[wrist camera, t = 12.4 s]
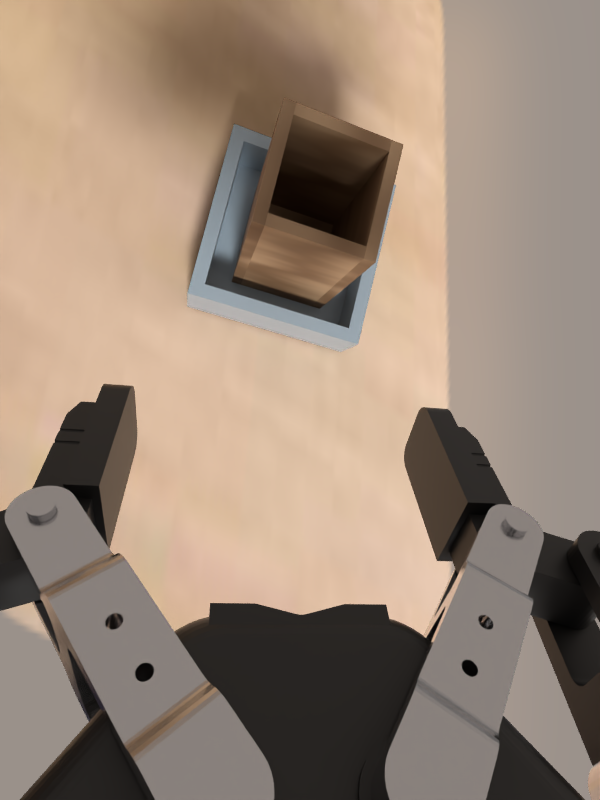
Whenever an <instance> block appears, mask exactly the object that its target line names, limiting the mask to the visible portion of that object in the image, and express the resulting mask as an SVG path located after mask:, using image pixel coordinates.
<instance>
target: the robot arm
mask: <svg viewBox="0 0 600 800" xmlns="http://www.w3.org/2000/svg"><path fill="white" fill-rule="evenodd" d="M136 443H137V420H136V405H135V391H134V387H133V386H125V385H111V384H104V385H103V386H102V388H101V391H100V393H99V396H98V398H97V401H96V403H94V402H80V403H79V404H78V405H77V406H75V407H74V408H73V409H72V410H71V411H70V412H68V413H67V415H66V417H65V419H64V421H63V423H62V426H61V428H60V431H59V432H58V434H57V436H56V439H55V443H53V445H52V447H51V449H50V452H49V454H48V456H47V458H46V460H45V463H44V465H43V467H42V469H41V471H40V473H39V476H38V478H37V480H36V482H35V484H34V486H33V488H32V489H30V490H28V491H26V492H24V493H22V494H21V495H19V496H18V497H17V498H15V499H14V500H13V501H12V502H11V503H10V505H9V506H8V508H7V509H6V510H3V511H1V512H0V611H1V610H5V609H9V608H12V607H16V606H19V605H23V604H27V603H30V602H32V603H33V605H34V607H35V609H36V611H37V613H38V615H39V617H40V619H41V621H42V623H43V625H44V627H45V629H46V631H47V633H48V635H49V637H50V639H51V641H52V644H53V646H54V648H55V650H56V652H57V654H58V656H59V658H60V660H61V662H62V664H63V666H64V669H65V671H66V673H67V676H68V679H69V681H70V683H71V686H72V688H73V690H74V692H75V695H76V697H77V699H78V701H79V703H80V705H81V707H82V709H83V711H84V713H85V715H86V717H87V719H88V721H89V723H88V724H87V725H86V726H85V727H84V728H83V729H82V731H81V732H80V733H79V734H78V735H77V736H76V737H75V738H74V739H73V741H72V742H71V743H70V744H69V745H68V746H67V747H66V748H65V750H64V751H63V752H62V753H61V754H60V755H59V756H58V757H57V758H56V760H55V761H54V762H53V763H52V764H51V765H50V766H49V767H48V769H47V770H46V771H45V772H44V773H43V774H42V775H41V776H40V778H39V779H38V780H37V781H36V782H35V783H34V784H33V785H32V787H31V788H30V789H29V790H28V791H27V792H26V793H25V794H24V795H23V797H22V798H21V799H20V800H585V799H584V798H583V797H582V796H581V795H580V794H579V793H578V792H577V791H576V790H575V789H574V788H573V787H572V786H571V785H570V784H569V783H568V782H567V781H566V780H565V779H564V778H563V777H562V776H561V775H560V774H559V773H558V772H557V771H556V770H555V769H554V768H553V766H552V765H550V763H549V762H548V761H546V759H545V758H544V757H543V756H542V755H541V754H540V753H539V752H538V751H537V750H536V749H535V748H534V747H533V746H532V745H531V744H530V743H529V742H528V741H527V740H526V739H525V738H524V737H523V736H522V735H521V734H520V733H519V732H518V731H517V730H516V728H515V727H514V726H513V725H512V724H511V723H510V722H509V721H508V720H507V719H506V718H505V717H504V716H503V713H504V710H505V706H506V702H507V698H508V695H509V691H510V687H511V684H512V680H513V676H514V673H515V669H516V665H517V662H518V657H519V654H520V651H521V647H522V643H523V639H524V636H525V632H526V628H527V625H528V621H529V617H530V615H532V617H533V619H534V622H535V624H536V627H537V629H538V632H539V634H540V636H541V639H542V642H543V644H544V647H545V649H546V651H547V654H548V656H549V659H550V661H551V664H552V666H553V669H554V671H555V674H556V676H557V679H558V681H559V684H560V686H561V689H562V691H563V693H564V696H565V698H566V701H567V703H568V706H569V708H570V710H571V713H572V716H573V718H574V720H575V723H576V726H577V728H578V730H579V733H580V735H581V738H582V740H583V743H584V745H585V748H586V750H587V753H588V755H589V758H590V760H591V763H592V765H593V767H592V769H591V771H590V773H589V778H588V787H589V793H590V797H591V800H600V629H599V627H598V625H597V623H596V622H595V618H596V617H597V618H598V620H599V622H600V532H597V531H585V532H583V533H581V534H580V535H579V537H578V538H577V539H576V541H575V542H574V541H571V540H567V539H564V538H560V537H558V536H554V535H551V534H548V533H545V532H543V531H542V529H541V527H540V525H539V524H538V522H537V521H536V520H535V519H534V518H533V517H532V516H531V515H530V514H528V513H526V512H525V511H523V510H522V509H520V508H518V507H515V506H512V505H511V503H510V501H509V499H508V497H507V495H506V493H505V491H504V489H503V487H502V486H501V484H500V482H499V480H498V478H497V476H496V474H495V472H494V470H493V468H492V467H490V463H489V461H488V459H487V457H486V456H484V454H485V453H484V452H483V450H482V448H481V446H480V444H479V442H478V440H477V439H476V438H475V437H474V436H473V435H472V434H471V433H470V432H469V431H468V430H467V429H466V428H464V427H458V426H457V424H456V422H455V420H454V418H453V416H452V414H451V412H450V411H449V410H448V409H439V408H425V407H423V408H421V409H420V410H419V412H418V415H417V417H416V420H415V423H414V425H413V428H412V431H411V433H410V436H409V439H408V441H407V444H406V447H405V453H404V462H405V467H406V470H407V473H408V476H409V479H410V482H411V485H412V488H413V491H414V494H415V497H416V500H417V503H418V506H419V509H420V512H421V515H422V518H423V521H424V524H425V527H426V530H427V533H428V536H429V538H430V541H431V544H432V547H433V550H434V553H435V556H436V559H437V561H453V563H454V566H455V570H454V572H453V573H452V575H451V577H450V580H449V582H448V584H447V586H446V588H445V591H444V593H443V595H442V597H441V599H440V602H439V604H438V606H437V608H436V610H435V612H434V615H433V617H432V619H431V621H430V623H429V626H428V628H427V630H426V632H425V634H424V635H421V634H420V633H418V632H417V631H415V630H414V629H412V628H410V627H408V626H407V625H405V624H402V623H400V622H397V621H395V620H392V619H389V616H388V611H387V607H386V605H365V604H344V605H340V606H336V607H332V608H329V609H325V610H321V611H317V612H313V613H309V614H305V615H298V614H293V613H290V612H286V611H282V610H278V609H274V608H270V607H266V606H262V605H259V604H239V603H210V615H209V617H207V618H203V619H199V620H197V621H194V622H192V623H189V624H187V625H185V626H183V627H181V628H179V629H178V630H176V631H175V632H174V631H173V629H172V628H171V626H170V625H169V623H168V622H167V620H166V619H165V617H164V616H163V614H162V613H161V611H160V610H159V608H158V607H157V605H156V604H155V602H154V601H153V599H152V598H151V596H150V595H149V593H148V592H147V590H146V589H145V587H144V586H143V584H142V583H141V581H140V580H139V578H138V577H137V575H136V574H135V572H134V571H133V569H132V568H131V566H130V565H129V563H128V562H127V561H126V559H125V558H124V557H123V556H122V555H121V554H119V553H118V554H116V555H114V554H113V553H112V552H111V551H110V549H109V548H110V545H111V541H112V537H113V533H114V530H115V526H116V522H117V518H118V514H119V511H120V507H121V503H122V499H123V496H124V492H125V488H126V484H127V481H128V477H129V473H130V469H131V465H132V462H133V458H134V454H135V450H136Z"/></svg>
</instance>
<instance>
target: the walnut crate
mask: <svg viewBox="0 0 600 800" xmlns="http://www.w3.org/2000/svg"><path fill="white" fill-rule="evenodd" d="M402 148H403V144H401V143H398V142H395V141H393V140H390V139H388V138H385V137H383V136H380V135H378V134H375V133H373V132H370V131H368V130H365V129H363V128H360V127H358V126H355V125H352V124H350V123H347V122H345V121H342V120H340V119H337V118H335V117H332V116H330V115H327V114H325V113H322V112H320V111H317V110H315V109H312V108H309V107H307V106H304V105H302V104H299V103H297V102H294V101H292V100H289V99H287V98H284V100H283V103H282V106H281V110H280V113H279V116H278V119H277V123H276V126H275V129H274V132H273V136H272V139H271V142H270V146H269V149H268V152H267V155H266V159H265V162H264V165H263V168H262V172H261V175H260V178H259V182H258V185H257V188H256V191H255V195H254V198H253V202H252V206H251V210H250V214H249V217H248V221H247V225H246V229H245V233H244V237H243V240H242V244H241V248H240V252H239V256H238V259H237V263H236V267H235V271H234V275H233V278H232V282H234V283H237V284H240V285H244V286H247V287H250V288H253V289H257V290H260V291H263V292H266V293H270V294H273V295H276V296H279V297H283V298H286V299H289V300H292V301H296V302H299V303H302V304H305V305H309V306H312V307H315V308H318V309H320V308H321V307H322V306H324V305H325V304H326V303H327V302H329V301H330V300H331V299H332V298H333V297H335V296H336V295H337V294H338V293H339V292H341V291H342V290H343V289H344V288H345V287H347V286H348V285H349V284H350V283H352V282H353V281H354V280H355V279H356V278H358V277H359V276H360V275H361V274H362V273H364V272H365V271H366V270H367V269H368V268H370V267H371V266H372V265H373V264H375V263H376V259H377V255H378V250H379V246H380V242H381V238H382V233H383V229H384V225H385V221H386V216H387V212H388V208H389V204H390V199H391V195H392V191H393V187H394V182H395V178H396V174H397V170H398V165H399V161H400V157H401V153H402Z"/></svg>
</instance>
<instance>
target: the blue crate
mask: <svg viewBox="0 0 600 800" xmlns="http://www.w3.org/2000/svg"><path fill="white" fill-rule="evenodd" d="M271 139H272V138H271V137H268V136H265V135H263V134H260V133H257V132H255V131H252V130H249V129H247V128H244V127H242V126H239V125H236V124H234V126H233V129H232V133H231V137H230V140H229V144H228V147H227V151H226V155H225V158H224V162H223V166H222V169H221V173H220V177H219V180H218V184H217V188H216V191H215V195H214V198H213V202H212V206H211V209H210V213H209V217H208V220H207V224H206V228H205V231H204V235H203V238H202V242H201V246H200V249H199V253H198V257H197V260H196V264H195V268H194V271H193V275H192V278H191V282H190V286H189V289H188V293H187V307H190V308H194V309H197V310H201V311H204V312H207V313H211V314H214V315H218V316H221V317H224V318H228V319H231V320H234V321H238V322H241V323H245V324H248V325H251V326H255V327H258V328H262V329H265V330H268V331H272V332H275V333H279V334H282V335H285V336H289V337H292V338H296V339H299V340H302V341H306V342H309V343H312V344H316V345H319V346H323V347H326V348H329V349H333V350H336V351H340V352H342V351H344V350H346V349H348V348H351V347H353V346H355V345H358V342H359V338H360V334H361V330H362V325H363V321H364V317H365V313H366V309H367V304H368V300H369V296H370V292H371V288H372V283H373V279H374V275H375V271H376V267H377V262H378V258H379V254H380V250H381V246H382V242H383V237H384V233H385V229H386V225H387V221H388V216H389V212H390V208H391V204H392V200H393V195H394V191H395V187H396V185H394V187H393V191H392V195H391V199H390V204H389V208H388V212H387V216H386V221H385V225H384V229H383V233H382V238H381V242H380V246H379V250H378V255H377V259H376V263H375V264H373V265H372V266H371V267H370V268H368V269H367V270H366V271H365V272H364V273H362V274H361V275H360V276H359V277H358V278H356V279H355V280H354V281H353V282H352V283H350V284H349V285H348V286H347V287H345V288H344V289H343V290H342V291H341V292H339V293H338V294H337V295H336V296H335V297H333V298H332V299H331V300H330V301H329V302H327V303H326V304H325V305H324V306H322V307H321V308H320V309H318V308H315V307H312V306H309V305H305V304H302V303H299V302H296V301H292V300H289V299H286V298H283V297H279V296H276V295H273V294H270V293H266V292H263V291H260V290H257V289H253V288H250V287H247V286H244V285H240V284H237V283H234V282H232V278H233V275H234V271H235V267H236V263H237V259H238V256H239V252H240V248H241V244H242V240H243V237H244V233H245V229H246V225H247V221H248V217H249V214H250V210H251V206H252V202H253V198H254V195H255V191H256V188H257V185H258V182H259V178H260V175H261V172H262V168H263V165H264V162H265V159H266V155H267V152H268V149H269V146H270V142H271Z"/></svg>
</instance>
